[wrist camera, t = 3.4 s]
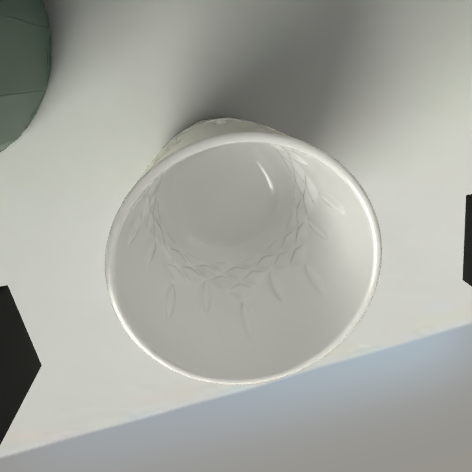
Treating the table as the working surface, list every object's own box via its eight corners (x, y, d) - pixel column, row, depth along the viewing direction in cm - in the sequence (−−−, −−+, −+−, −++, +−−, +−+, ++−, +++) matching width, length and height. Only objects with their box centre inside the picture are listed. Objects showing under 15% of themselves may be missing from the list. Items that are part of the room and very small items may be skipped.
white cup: (245, 279, 23) (282, 418, 14) (115, 212, 21) (56, 322, 12) (328, 158, 21) (437, 226, 12) (193, 70, 19) (197, 66, 10)
